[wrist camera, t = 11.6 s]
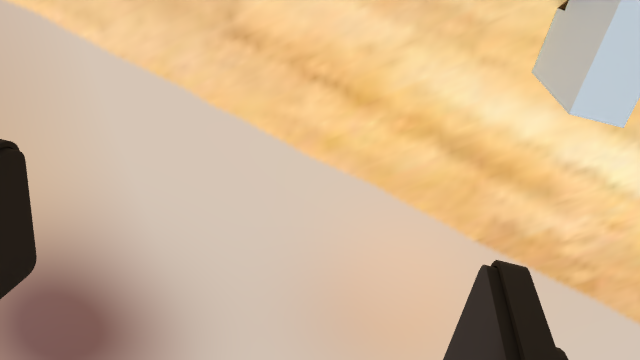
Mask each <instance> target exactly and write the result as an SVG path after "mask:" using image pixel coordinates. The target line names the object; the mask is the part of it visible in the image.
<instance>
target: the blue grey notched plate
mask: <svg viewBox="0 0 640 360" xmlns="http://www.w3.org/2000/svg"><path fill="white" fill-rule="evenodd" d="M532 73H533V74H534V75H535V77H536V78H537V79H538V80H539V81H540V82H541V83H542V84H543V86H544V87H545V88H546V89H547V90H548V91H549V92H550V93H551V95H552V96H553V97H554V98H555V99H556V100H557V101H558V102H559V104H560V105H561V106H562V107H563V108H564V109H565V110H566V111H567V113H568V114H571V115H575V116H578V117H582V118H586V119H590V120H594V121H598V122H602V123H606V124H610V125H614V126H618V127H622V128H624V126H625V124H626V122H627V120H628V119H629V117H630V115H631V113H632V111H633V109H634V107H635V105H636V103H637V101H638V99H639V97H640V0H569V2H568V4H567V6H566V9H565V10H563V9H557V11H556V13H555V16H554V18H553V21H552V23H551V26H550V28H549V31H548V33H547V36H546V38H545V41H544V43H543V46H542V48H541V50H540V53H539V55H538V58H537V60H536V63H535V65H534V68H533V70H532Z"/></svg>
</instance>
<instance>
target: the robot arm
mask: <svg viewBox="0 0 640 360" xmlns="http://www.w3.org/2000/svg"><path fill="white" fill-rule="evenodd" d="M35 264H36V248H35V240H34V231H33V222H32V214H31V205H30V197H29V188H28V179H27V171H26V162H25V157H24V155H23V153H22V152H20V151H19V148H18V147H17V145H16V144H15V143H13V142H11V141H6V140H2V139H0V299H1V298H2V297H4V296H5V295H6V294H7V293H8V292H9V291H10V290H11V289H13V288H14V287H15V286H16V285H18V284H19V283H20V282H21V281H22V280H23V279H24V278H26V277H27V276H28V275H29V274H30V273H31V272H32V270H33V268H34V266H35ZM443 360H568V358H567V356H566V354H565V352H564V351H562V350H561V349H560V348H557V347H555V344H554V341H553V338H552V335H551V332H550V329H549V327H548V324H547V321H546V318H545V315H544V312H543V310H542V306H541V303H540V301H539V298H538V295H537V292H536V289H535V286H534V283H533V280H532V278H531V275H530V272H529V270H528V268H526V267H523V266H519V265H515V264H511V263H507V262H503V261H498V260H496V261H494V262H493V263H492V265H491V266H487V265H483V266H482V267H481V268H480V270H479V272H478V275H477V277H476V280H475V282H474V284H473V287H472V290H471V292H470V294H469V297H468V299H467V302H466V304H465V307H464V309H463V312H462V315H461V317H460V319H459V322H458V324H457V327H456V329H455V332H454V334H453V337H452V339H451V342H450V344H449V346H448V349H447V352H446V354H445V357H444V359H443Z"/></svg>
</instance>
